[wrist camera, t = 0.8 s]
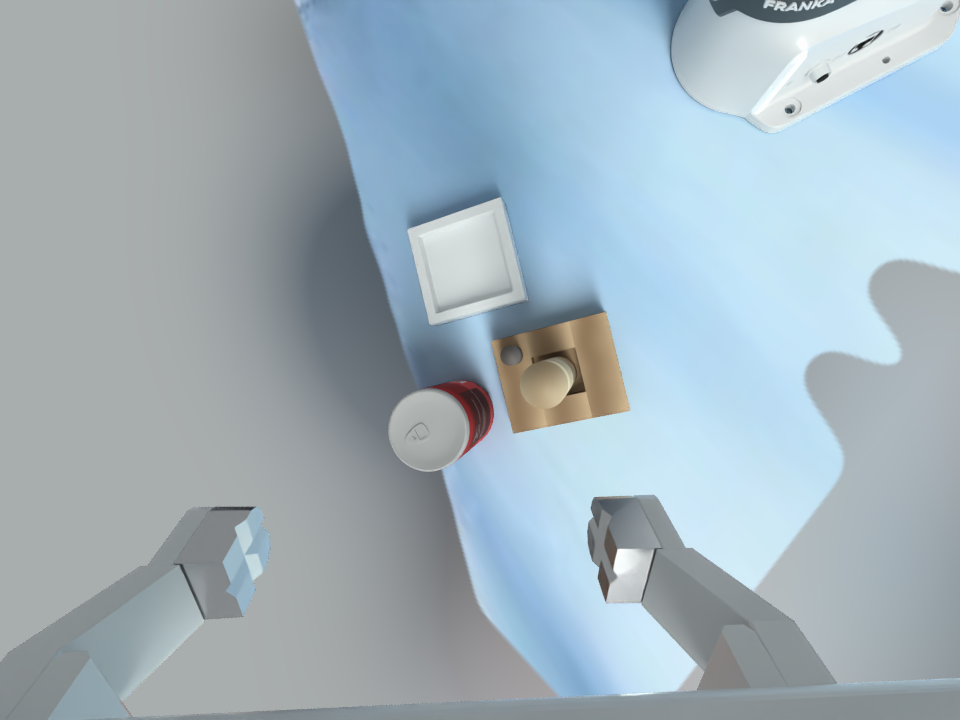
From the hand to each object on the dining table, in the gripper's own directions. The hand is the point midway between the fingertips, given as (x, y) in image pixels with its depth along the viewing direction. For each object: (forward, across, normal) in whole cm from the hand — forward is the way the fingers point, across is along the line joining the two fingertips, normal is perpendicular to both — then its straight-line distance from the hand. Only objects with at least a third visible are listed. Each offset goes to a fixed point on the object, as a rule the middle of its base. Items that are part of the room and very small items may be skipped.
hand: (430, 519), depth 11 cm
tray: (+41, -2, +5) cm, 42 cm away
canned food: (+35, -1, +20) cm, 40 cm away
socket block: (+34, -12, +14) cm, 38 cm away
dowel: (+33, -11, +14) cm, 37 cm away
